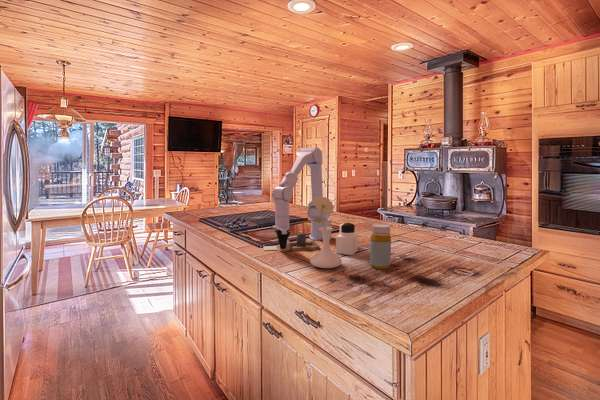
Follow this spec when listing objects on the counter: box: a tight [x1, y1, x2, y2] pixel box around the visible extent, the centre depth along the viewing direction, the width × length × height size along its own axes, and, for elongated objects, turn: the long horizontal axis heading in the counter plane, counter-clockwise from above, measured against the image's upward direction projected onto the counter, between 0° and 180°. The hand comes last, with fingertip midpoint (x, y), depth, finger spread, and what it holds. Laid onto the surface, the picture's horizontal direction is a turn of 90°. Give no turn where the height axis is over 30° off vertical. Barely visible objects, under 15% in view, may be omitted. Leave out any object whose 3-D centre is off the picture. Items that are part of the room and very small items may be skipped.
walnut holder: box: [289, 240, 321, 252], centre depth 148 cm, size 12×10×1 cm
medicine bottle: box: [335, 222, 359, 256], centre depth 139 cm, size 7×7×12 cm
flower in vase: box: [309, 196, 343, 269], centre depth 121 cm, size 13×11×25 cm
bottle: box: [369, 223, 392, 271], centre depth 120 cm, size 7×7×15 cm
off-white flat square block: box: [262, 245, 278, 252], centre depth 145 cm, size 6×6×1 cm
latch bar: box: [278, 239, 291, 252], centre depth 145 cm, size 4×10×5 cm, turn 10°
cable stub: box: [296, 232, 307, 247], centre depth 147 cm, size 4×4×6 cm
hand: (282, 247), depth 142 cm, fingers closed on latch bar, 3 cm apart
